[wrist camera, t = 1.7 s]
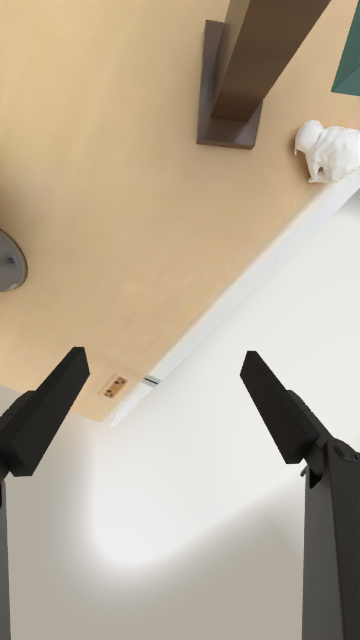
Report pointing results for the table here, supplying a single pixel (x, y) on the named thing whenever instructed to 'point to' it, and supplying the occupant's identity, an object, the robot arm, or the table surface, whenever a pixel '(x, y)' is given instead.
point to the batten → (350, 61)
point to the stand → (247, 64)
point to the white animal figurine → (328, 150)
